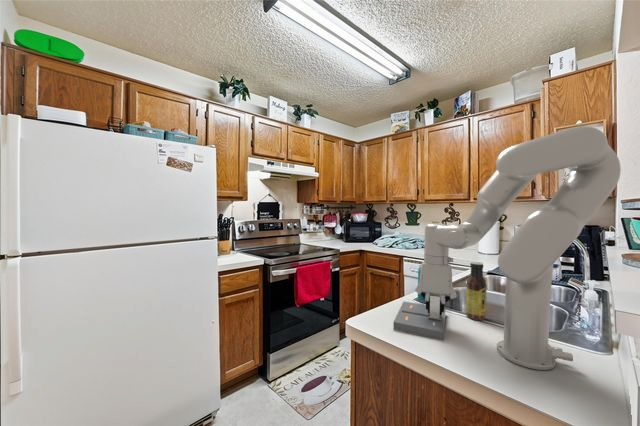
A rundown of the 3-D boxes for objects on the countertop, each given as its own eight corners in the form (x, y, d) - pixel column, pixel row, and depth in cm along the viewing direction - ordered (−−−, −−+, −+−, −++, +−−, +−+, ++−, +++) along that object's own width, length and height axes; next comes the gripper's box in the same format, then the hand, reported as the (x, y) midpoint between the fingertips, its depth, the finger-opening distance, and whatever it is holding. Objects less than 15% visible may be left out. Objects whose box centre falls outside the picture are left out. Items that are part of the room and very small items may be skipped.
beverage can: (429, 299, 113) (430, 264, 113) (434, 304, 108) (434, 268, 107) (416, 298, 114) (416, 264, 113) (419, 303, 108) (420, 267, 108)
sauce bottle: (485, 322, 91) (487, 266, 90) (465, 318, 94) (466, 264, 94) (485, 315, 97) (487, 262, 96) (466, 312, 100) (467, 260, 99)
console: (445, 314, 97) (445, 308, 97) (443, 340, 80) (443, 331, 79) (403, 307, 104) (403, 301, 104) (393, 329, 86) (393, 321, 86)
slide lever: (441, 314, 91) (442, 293, 91) (440, 320, 87) (441, 297, 86) (429, 312, 93) (429, 291, 92) (427, 317, 88) (428, 295, 88)
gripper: (463, 260, 89) (461, 313, 89) (412, 255, 96) (411, 304, 97) (463, 264, 82) (462, 322, 83) (409, 259, 89) (408, 312, 90)
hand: (434, 312), depth 90 cm, fingers closed on slide lever, 3 cm apart
